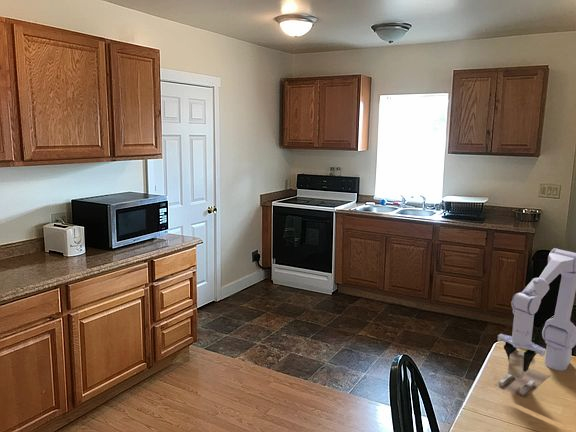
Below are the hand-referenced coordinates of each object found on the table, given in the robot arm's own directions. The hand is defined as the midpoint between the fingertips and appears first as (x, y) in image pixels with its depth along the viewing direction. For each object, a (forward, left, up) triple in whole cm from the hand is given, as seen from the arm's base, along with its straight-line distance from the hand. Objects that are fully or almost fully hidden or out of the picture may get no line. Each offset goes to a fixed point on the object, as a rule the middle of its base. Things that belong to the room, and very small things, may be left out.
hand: (518, 367), depth 157 cm
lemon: (-24, -8, -8) cm, 27 cm away
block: (0, 0, -2) cm, 2 cm away
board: (-5, 0, -8) cm, 9 cm away
